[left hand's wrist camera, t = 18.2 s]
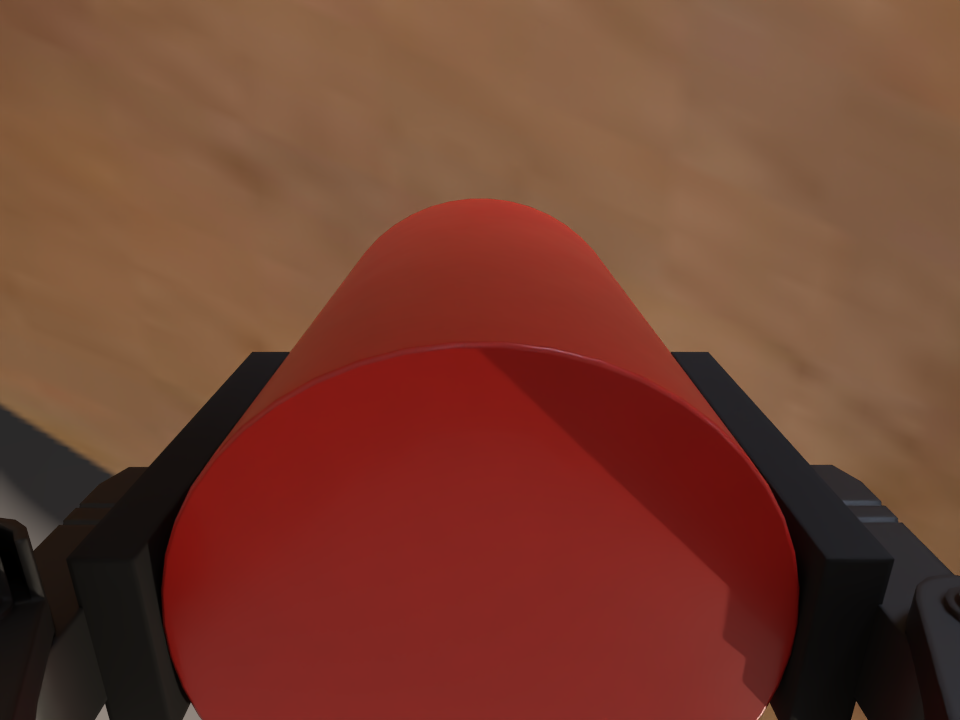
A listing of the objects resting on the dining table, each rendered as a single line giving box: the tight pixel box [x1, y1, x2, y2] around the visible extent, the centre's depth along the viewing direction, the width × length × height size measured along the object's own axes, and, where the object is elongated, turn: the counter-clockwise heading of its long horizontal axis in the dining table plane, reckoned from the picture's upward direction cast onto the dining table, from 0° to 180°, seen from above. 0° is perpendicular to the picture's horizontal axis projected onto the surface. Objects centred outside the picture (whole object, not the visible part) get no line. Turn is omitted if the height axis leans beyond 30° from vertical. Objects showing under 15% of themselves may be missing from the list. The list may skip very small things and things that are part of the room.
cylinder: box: [161, 199, 799, 720], centre depth 13 cm, size 8×8×11 cm
